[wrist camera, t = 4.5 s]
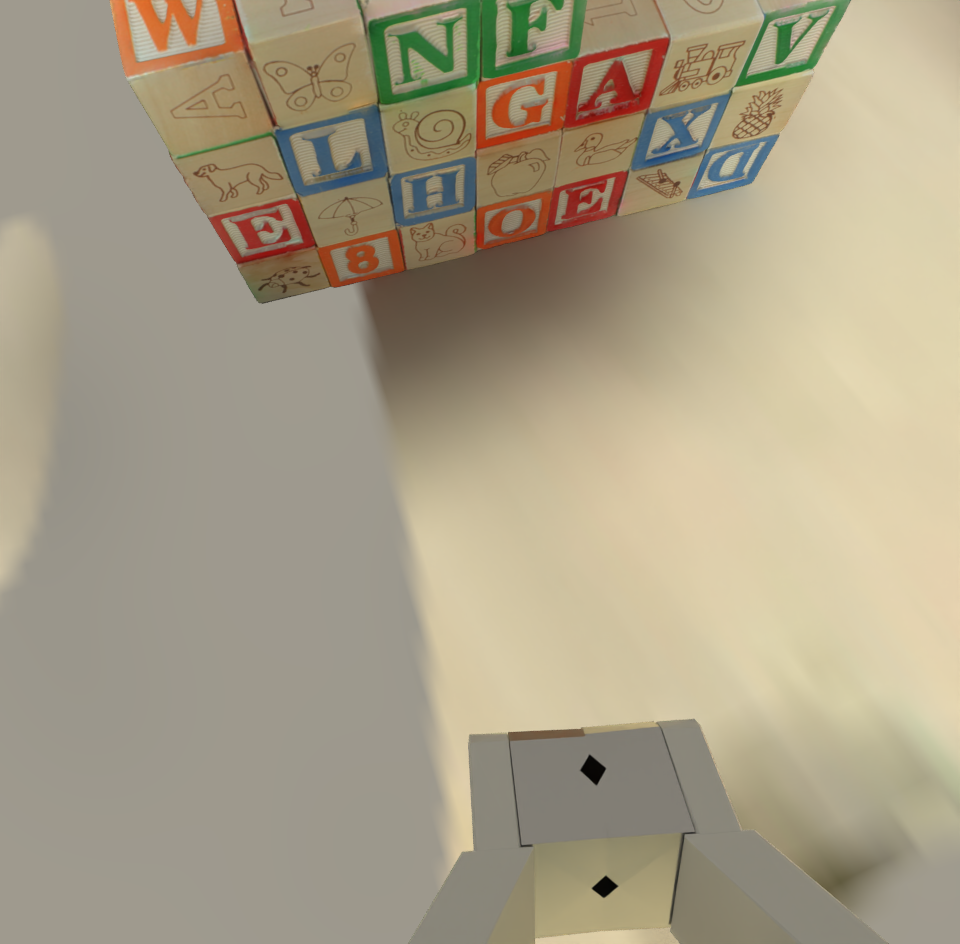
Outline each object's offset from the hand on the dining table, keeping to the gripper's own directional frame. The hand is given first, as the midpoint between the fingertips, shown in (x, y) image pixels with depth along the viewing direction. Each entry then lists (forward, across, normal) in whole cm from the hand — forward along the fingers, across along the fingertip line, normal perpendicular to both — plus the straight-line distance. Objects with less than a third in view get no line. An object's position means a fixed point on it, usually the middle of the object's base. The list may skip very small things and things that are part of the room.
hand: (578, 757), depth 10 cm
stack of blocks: (+27, -1, -3) cm, 27 cm away
